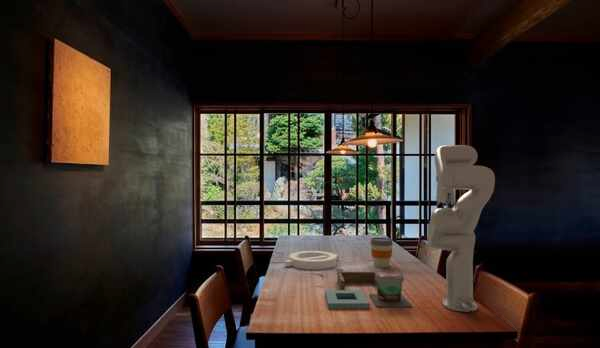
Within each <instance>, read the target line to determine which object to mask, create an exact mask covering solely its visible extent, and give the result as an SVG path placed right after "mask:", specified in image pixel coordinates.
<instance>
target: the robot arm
mask: <svg viewBox="0 0 600 348" xmlns="http://www.w3.org/2000/svg"><path fill="white" fill-rule="evenodd" d="M477 161H478V152H477V150H476V149H475V148H474V147H473V146H470V145H468V144H467V145H466V144H464V145H463V144H460V145H459V144H458V145H457V144H455V145H454V144H453V145H451V144H450V145H440V146H439V147H437V149H436V151H435V152H434V164H435V165H434V166H435V181H436V197H435V198H436V208H435V209H434V210H433V211H432V213H431V216H430V220H429V224H428V228H427V230H428V231H427V235H426V238H427V245H428V246H429V247H430V248H431V249H432V250H440V251H451V252H450V254H449V255H448V257H447V258H446V262H445V268H446V269H445V271H446V273H445V274H446V276H445V277H446V283H445V286H446V290H445V292H446V295H445V297H446V298H444V299H443V300H442V303H441V304H442V305H443V307H444V308H446V309H449V310H452V311H457V312H461V311H462V313H463V312H465V313H471V312H470V311H472V312H475V311H477V310H478V304H477V303H475V302H474V281H473V279H474V273H473V272H474V267H473V265H474V264H473V262H474V249H475V243H476V234H475V231H474V230H475V229H476V227H477V225H478V222H479V219H480V216H481V213H482V210H483V209H484V207H485V205H486V204H487V203H488V202H489V200H490V199H491V197H492V195H493V193H494V190H495V189H494V188H495V183H496V177H495V173H494V171H493V170H492V169H491V168H489V167H487V166H484V165H483V166H482V165H474V164H476V162H477ZM455 190H459V191H460V190H461V191H462V190H467V192H465V193H463V194H462V195H461V196H460V197H459V198H458V199H457V201H456V197H455V196H456V193H455ZM455 202H456V203H455ZM444 204H445V205H444ZM454 205H455V206H454ZM445 206H446V207H445Z"/></svg>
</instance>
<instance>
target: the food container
mask: <svg viewBox="0 0 600 348" xmlns="http://www.w3.org/2000/svg"><path fill="white" fill-rule="evenodd" d="M375 280H376V281H377V286H376V291H377V294H378V299H379V300H381V301H384V302H389V303H395V302H399V301H400V300H401V294H402V290H403V282H404V281H405V278H404V274H402V273H400V275H385V276H381V275H380V276H377V275H376V277H375Z"/></svg>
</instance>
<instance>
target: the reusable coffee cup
mask: <svg viewBox="0 0 600 348" xmlns="http://www.w3.org/2000/svg"><path fill="white" fill-rule="evenodd" d="M370 246H371V248H370V250H371V257H372V263H373V266H375V267H378V268H388V267H390V265H391V264H390V263H391V258H392V256H393V255H392V254H393V248H392V247H393V239H392V238H388V237H372V238H370Z"/></svg>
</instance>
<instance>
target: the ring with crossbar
mask: <svg viewBox="0 0 600 348" xmlns="http://www.w3.org/2000/svg"><path fill="white" fill-rule="evenodd" d="M288 258H289V259H287V260H284V265H285V266H286V267H291V266H292V267H293V268H297V269H300V270H301V269H302V270H326V269H330V268H333V267H336V266H337V263H338V260H340V254H337V253H332V252H329V251H323V250H303V251H297V252H293V253H291V254H289V257H288Z"/></svg>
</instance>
